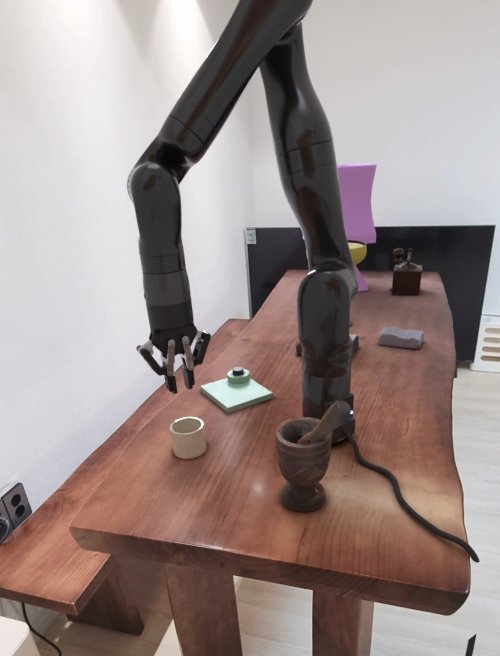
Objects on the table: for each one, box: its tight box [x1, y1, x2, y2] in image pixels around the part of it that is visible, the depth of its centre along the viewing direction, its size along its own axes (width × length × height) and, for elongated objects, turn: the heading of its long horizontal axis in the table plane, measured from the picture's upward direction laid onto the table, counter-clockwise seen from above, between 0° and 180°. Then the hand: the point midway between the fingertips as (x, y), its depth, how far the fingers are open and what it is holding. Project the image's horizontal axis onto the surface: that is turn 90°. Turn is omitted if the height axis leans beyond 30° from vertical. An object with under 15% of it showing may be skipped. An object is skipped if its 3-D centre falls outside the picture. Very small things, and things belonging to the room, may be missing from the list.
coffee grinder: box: [389, 247, 423, 297], centre depth 175 cm, size 16×11×18 cm
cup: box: [169, 416, 207, 460], centre depth 90 cm, size 6×6×6 cm
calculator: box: [295, 333, 360, 357], centre depth 131 cm, size 11×4×15 cm
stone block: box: [378, 325, 425, 350], centre depth 134 cm, size 12×5×10 cm
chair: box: [302, 163, 378, 293], centre depth 183 cm, size 22×22×45 cm
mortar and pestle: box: [275, 401, 351, 513], centre depth 71 cm, size 12×9×20 cm
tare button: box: [232, 366, 244, 376], centre depth 115 cm, size 3×3×2 cm
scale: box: [199, 368, 274, 414], centre depth 111 cm, size 14×12×3 cm
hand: (181, 389), depth 85 cm, fingers closed
